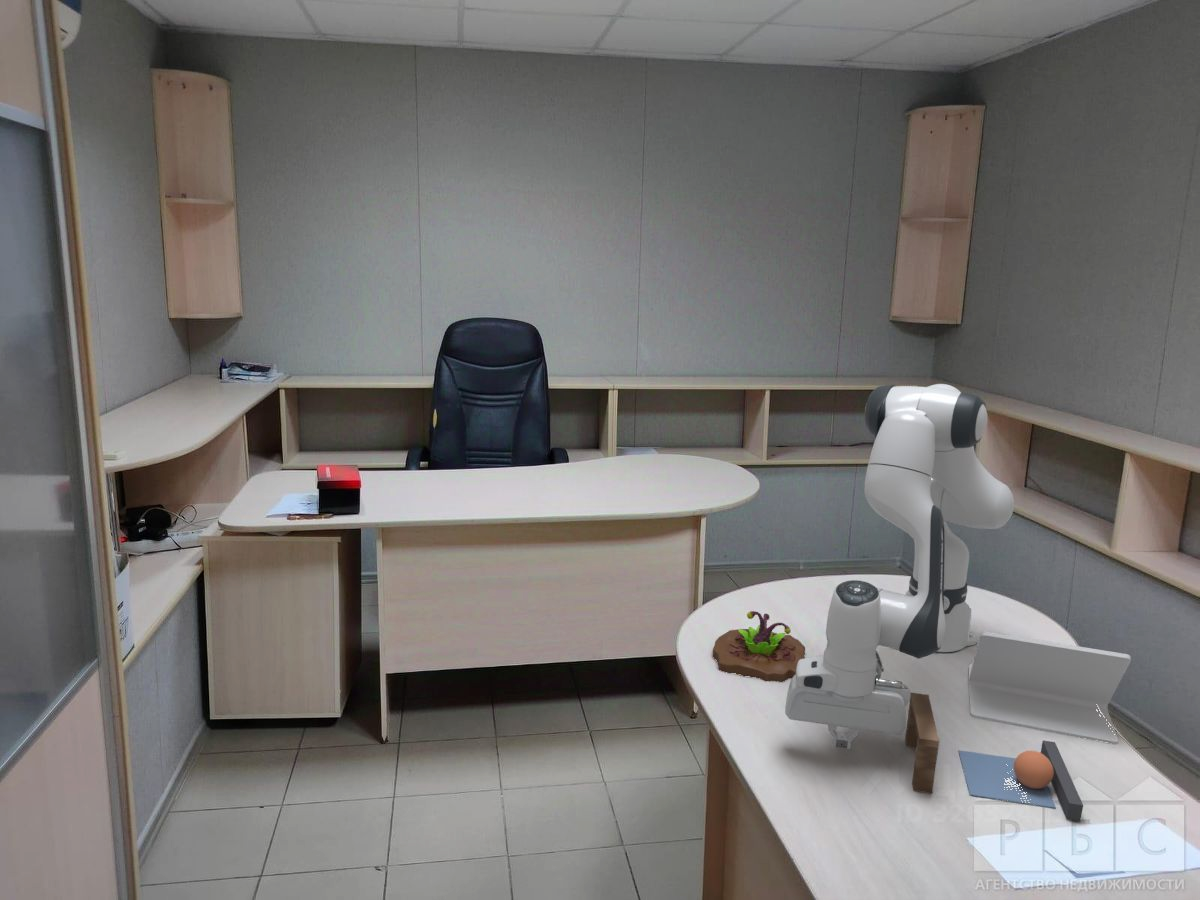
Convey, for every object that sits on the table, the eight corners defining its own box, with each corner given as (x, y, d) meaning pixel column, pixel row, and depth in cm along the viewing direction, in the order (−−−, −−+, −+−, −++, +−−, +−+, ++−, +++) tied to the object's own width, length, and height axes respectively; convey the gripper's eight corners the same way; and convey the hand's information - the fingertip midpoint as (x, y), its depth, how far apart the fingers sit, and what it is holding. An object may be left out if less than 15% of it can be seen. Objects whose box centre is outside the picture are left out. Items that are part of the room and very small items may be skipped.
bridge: (913, 790, 148) (919, 738, 146) (904, 740, 162) (910, 692, 160) (932, 793, 148) (939, 741, 145) (922, 742, 162) (928, 694, 159)
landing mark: (958, 751, 160) (958, 750, 159) (1037, 762, 157) (1037, 761, 157) (969, 795, 147) (970, 794, 147) (1055, 808, 144) (1055, 807, 144)
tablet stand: (1118, 746, 163) (1135, 661, 158) (970, 718, 171) (982, 637, 166) (1101, 697, 179) (1115, 619, 175) (967, 674, 187) (977, 599, 183)
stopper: (1040, 755, 159) (1042, 740, 158) (1052, 757, 158) (1054, 742, 158) (1066, 819, 142) (1069, 803, 141) (1080, 821, 141) (1083, 805, 141)
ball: (1052, 775, 152) (1014, 778, 154) (1045, 742, 151) (1007, 746, 153) (1060, 794, 146) (1020, 797, 148) (1053, 759, 146) (1014, 763, 147)
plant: (715, 634, 203) (718, 588, 200) (803, 643, 200) (807, 596, 197) (710, 677, 184) (713, 627, 181) (807, 688, 181) (812, 637, 178)
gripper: (910, 674, 155) (901, 745, 158) (789, 658, 159) (783, 728, 163) (913, 692, 149) (904, 765, 152) (788, 675, 153) (782, 747, 157)
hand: (841, 746), depth 157 cm, fingers closed
